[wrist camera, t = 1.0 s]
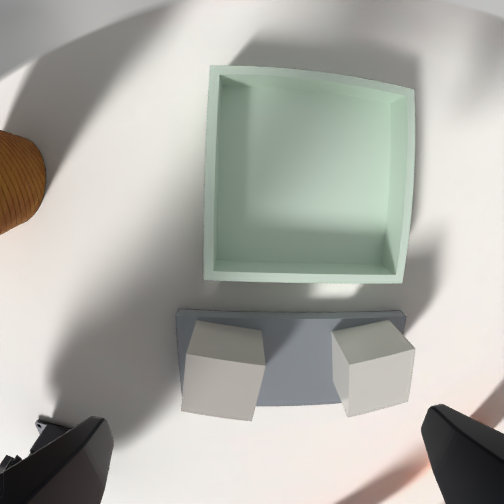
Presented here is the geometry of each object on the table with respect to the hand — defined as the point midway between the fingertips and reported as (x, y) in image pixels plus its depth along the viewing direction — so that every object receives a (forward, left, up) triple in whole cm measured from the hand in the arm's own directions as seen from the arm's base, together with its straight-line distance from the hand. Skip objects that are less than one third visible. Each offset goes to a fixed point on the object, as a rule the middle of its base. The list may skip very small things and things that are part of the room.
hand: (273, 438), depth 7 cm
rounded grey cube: (-5, -7, -12) cm, 15 cm away
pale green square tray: (+6, -3, -13) cm, 15 cm away
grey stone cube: (-5, +2, -12) cm, 13 cm away
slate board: (-6, -3, -13) cm, 14 cm away
